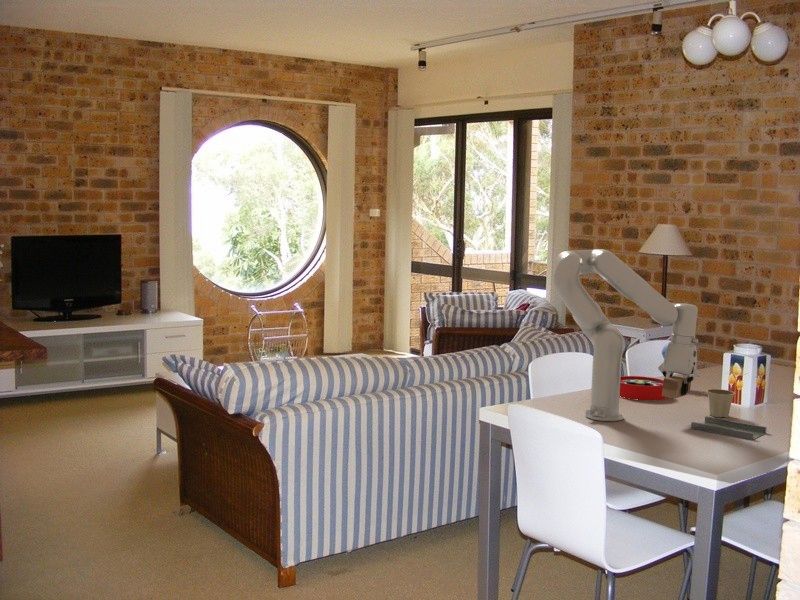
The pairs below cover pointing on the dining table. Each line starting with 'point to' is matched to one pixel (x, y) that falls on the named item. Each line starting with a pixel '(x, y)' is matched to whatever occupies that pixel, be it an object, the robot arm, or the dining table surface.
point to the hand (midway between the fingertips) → (676, 392)
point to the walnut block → (674, 386)
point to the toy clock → (641, 388)
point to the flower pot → (720, 402)
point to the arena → (730, 428)
